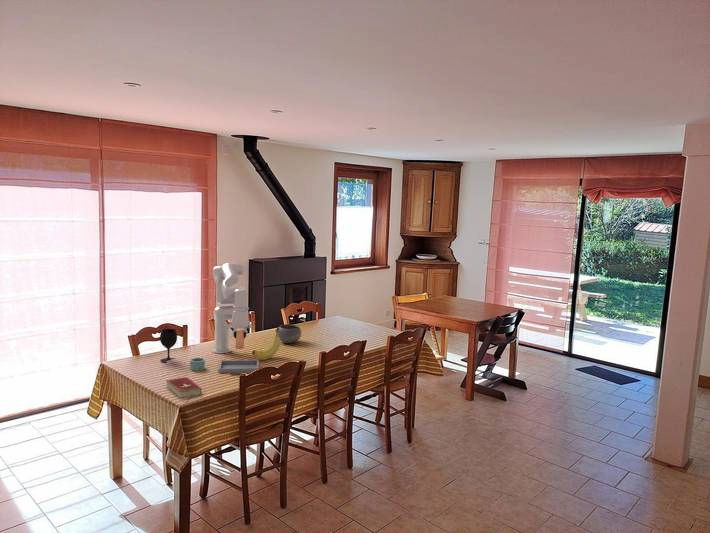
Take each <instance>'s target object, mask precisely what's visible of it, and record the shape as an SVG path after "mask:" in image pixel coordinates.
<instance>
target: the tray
mask: <svg viewBox="0 0 710 533" xmlns="http://www.w3.org/2000/svg"><path fill="white" fill-rule="evenodd" d="M259 361H260V360H258V359H220V360H219V364H218V374H229V375H242V374H241V373H246V374H245V375H249V374H248V373H251V372H253V371H255V370H257V369H259V370H260V364H259V363H260V362H259Z"/></svg>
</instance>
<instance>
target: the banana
mask: <svg viewBox="0 0 710 533" xmlns="http://www.w3.org/2000/svg"><path fill="white" fill-rule="evenodd" d="M278 331H279V327H276V329H275V336H274V337H273V338H272V340H271V342H270V343H269V345H268V346H267V348H265V349H263V350H252V352H251V353H252V357H253V358H254V360H259V361H264V360H268V359H270V358H272V357H273V356H275V354H276V353H277V352H278V350H279V349H280V347H281V340H280V338H279V336H278Z"/></svg>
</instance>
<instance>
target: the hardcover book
mask: <svg viewBox="0 0 710 533" xmlns="http://www.w3.org/2000/svg"><path fill="white" fill-rule="evenodd" d="M165 381H166V387H167V388H169V390H170V391H172V392H173V393H174V394H175V395H176V396H177V397H179V398H185V397H190V396H195V395H196V396H197V395H202V387H200V386H199V385H198V384H197V383H195V382H194V381H193V380H191V379H190V378H188V376H185V377H177V378H171V379H166V380H165Z"/></svg>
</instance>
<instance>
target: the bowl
mask: <svg viewBox="0 0 710 533" xmlns="http://www.w3.org/2000/svg"><path fill="white" fill-rule="evenodd" d="M278 328H279V331H278V336H279V338H280V342H282V343H284V344H288V343H289V344H294V343H296V342H298V341H299V340H300V339H301V337H302V330H301V327H300V325H298V324H292V323H289V324H288V323H286V324H281V325H280V326H278Z"/></svg>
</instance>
